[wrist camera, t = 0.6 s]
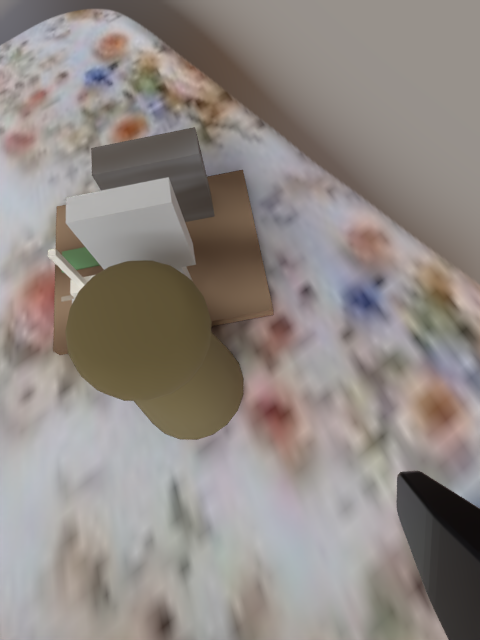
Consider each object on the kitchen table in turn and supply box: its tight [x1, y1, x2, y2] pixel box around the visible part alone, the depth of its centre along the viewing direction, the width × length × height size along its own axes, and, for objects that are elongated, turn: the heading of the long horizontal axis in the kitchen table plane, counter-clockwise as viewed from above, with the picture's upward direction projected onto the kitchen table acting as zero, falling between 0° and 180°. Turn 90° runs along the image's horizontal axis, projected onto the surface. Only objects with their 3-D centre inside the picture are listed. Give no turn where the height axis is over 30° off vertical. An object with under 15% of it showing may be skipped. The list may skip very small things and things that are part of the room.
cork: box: [65, 260, 243, 440], centre depth 18 cm, size 6×6×11 cm
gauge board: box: [53, 127, 273, 355], centre depth 24 cm, size 11×14×6 cm
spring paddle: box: [66, 177, 196, 303], centre depth 20 cm, size 2×8×10 cm, turn 100°
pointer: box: [48, 249, 95, 298], centre depth 23 cm, size 1×2×5 cm, turn 100°
